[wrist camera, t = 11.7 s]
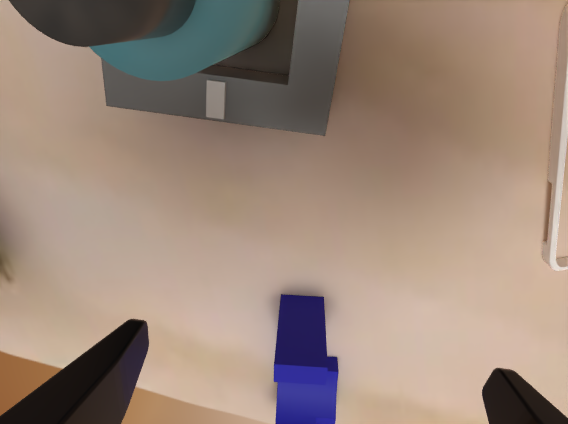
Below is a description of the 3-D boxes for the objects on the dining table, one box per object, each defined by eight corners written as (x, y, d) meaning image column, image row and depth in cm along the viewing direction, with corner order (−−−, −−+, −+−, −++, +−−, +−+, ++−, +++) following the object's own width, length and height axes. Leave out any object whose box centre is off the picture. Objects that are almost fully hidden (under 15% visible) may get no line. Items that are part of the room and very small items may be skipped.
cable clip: (330, 403, 31) (335, 482, 26) (278, 399, 31) (272, 477, 26) (344, 296, 25) (354, 369, 20) (281, 292, 25) (274, 364, 20)
